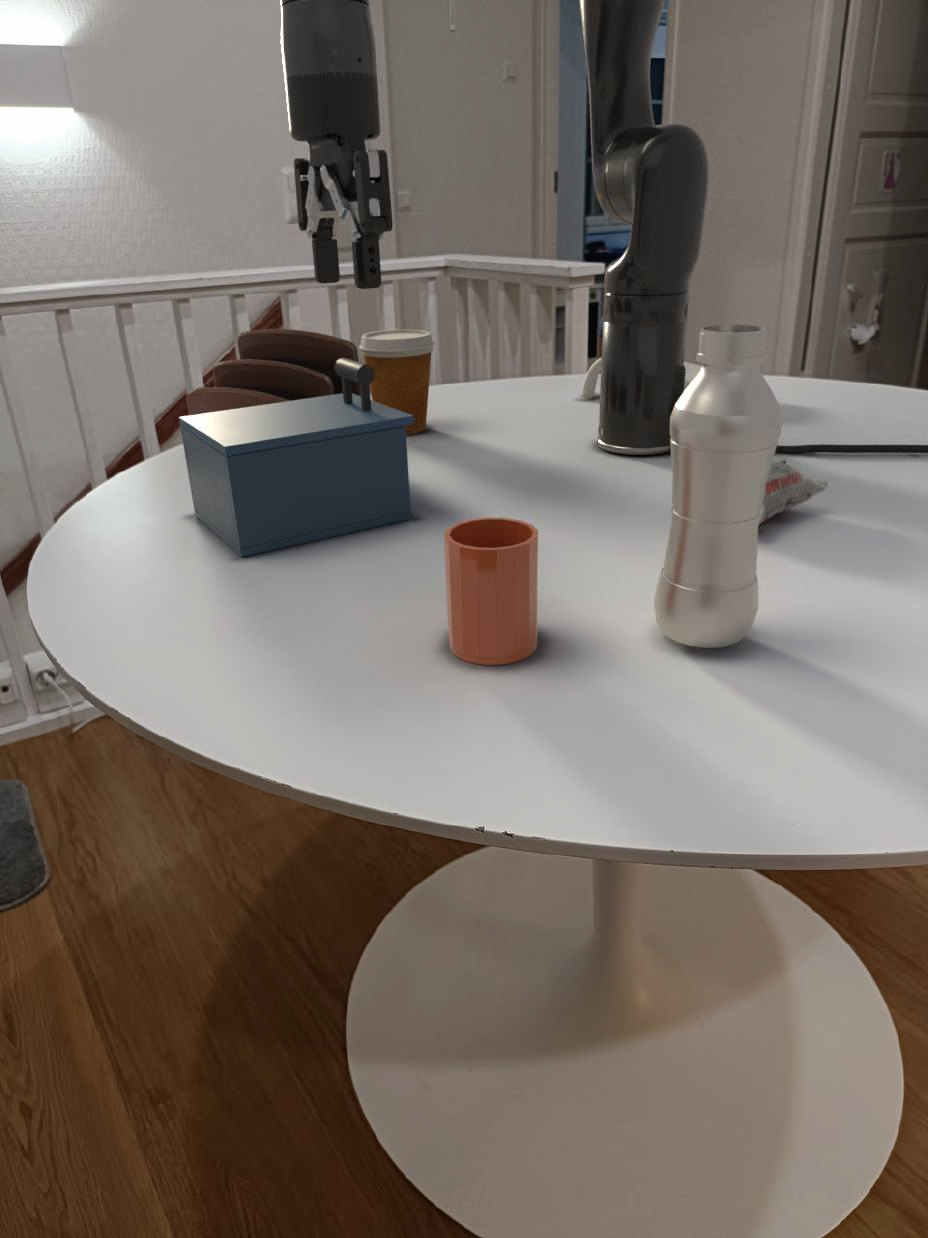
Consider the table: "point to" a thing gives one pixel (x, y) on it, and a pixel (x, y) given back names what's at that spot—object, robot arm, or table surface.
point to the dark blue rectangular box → (299, 489)
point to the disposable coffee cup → (400, 371)
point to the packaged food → (787, 489)
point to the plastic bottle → (718, 490)
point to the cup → (492, 590)
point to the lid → (299, 417)
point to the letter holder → (275, 371)
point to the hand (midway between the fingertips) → (347, 285)
